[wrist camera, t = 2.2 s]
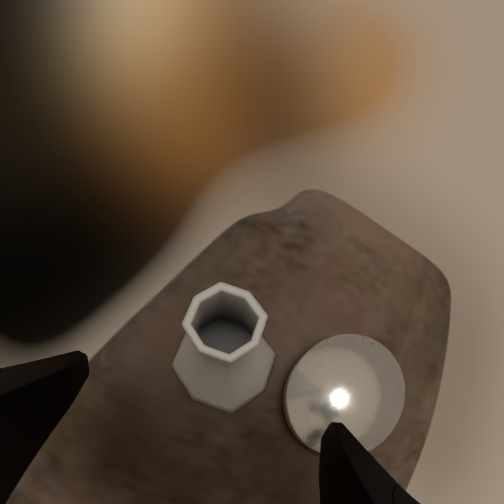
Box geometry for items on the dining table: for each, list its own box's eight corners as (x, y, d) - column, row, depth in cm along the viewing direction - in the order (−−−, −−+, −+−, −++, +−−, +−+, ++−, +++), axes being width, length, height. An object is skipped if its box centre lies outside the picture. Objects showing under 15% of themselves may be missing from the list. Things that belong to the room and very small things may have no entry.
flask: (292, 353, 20) (345, 304, 11) (234, 430, 16) (244, 450, 8) (216, 299, 22) (213, 216, 13) (155, 367, 18) (101, 327, 10)
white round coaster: (371, 459, 15) (388, 462, 13) (262, 438, 16) (268, 442, 14) (395, 357, 20) (412, 349, 18) (300, 328, 21) (309, 318, 19)
